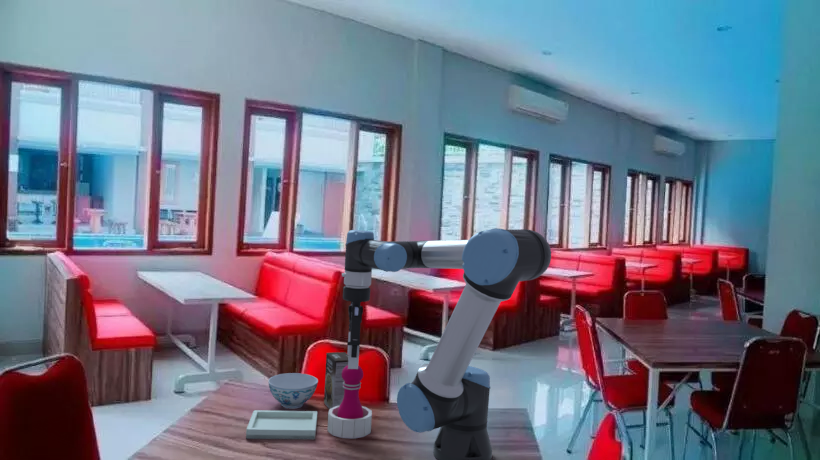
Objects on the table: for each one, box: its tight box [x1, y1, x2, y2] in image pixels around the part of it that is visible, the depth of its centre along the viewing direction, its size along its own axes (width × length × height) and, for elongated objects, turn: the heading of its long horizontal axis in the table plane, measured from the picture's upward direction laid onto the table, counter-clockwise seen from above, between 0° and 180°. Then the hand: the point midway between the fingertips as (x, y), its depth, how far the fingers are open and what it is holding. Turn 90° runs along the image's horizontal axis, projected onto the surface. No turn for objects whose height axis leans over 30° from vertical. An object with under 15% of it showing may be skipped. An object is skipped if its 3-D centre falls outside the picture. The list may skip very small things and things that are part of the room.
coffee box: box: [323, 351, 349, 410], centre depth 186 cm, size 9×6×16 cm
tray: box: [245, 409, 318, 440], centre depth 167 cm, size 18×14×2 cm
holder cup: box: [327, 405, 373, 439], centre depth 169 cm, size 12×12×5 cm
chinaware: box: [267, 372, 319, 410], centre depth 186 cm, size 15×15×8 cm
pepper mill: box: [337, 365, 364, 419], centre depth 169 cm, size 7×7×20 cm
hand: (352, 361), depth 168 cm, fingers open, 13 cm apart
